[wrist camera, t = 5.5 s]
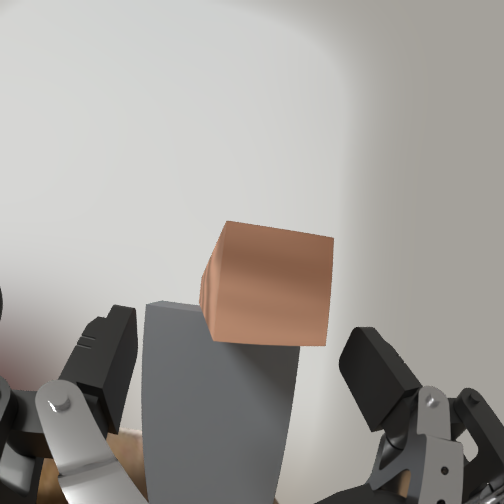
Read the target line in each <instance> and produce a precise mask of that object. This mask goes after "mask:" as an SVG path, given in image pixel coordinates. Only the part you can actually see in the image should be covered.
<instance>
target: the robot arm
mask: <svg viewBox="0 0 504 504" xmlns="http://www.w3.org/2000/svg"><path fill="white" fill-rule="evenodd" d="M2 308H3V300H2V293H1V288H0V320H1V315H2ZM137 352H138V337H137V319H136V310H135V308H131V307H125V306H119V305H113V307H112V308H111V310H110V312H109V314H108V316H107V318H104V317H97V318H96V319H94V320H93V321H91V322H90V323H89V324H88V325H87V326H86V328H85V330H84V331H83V333H82V337H80V339H79V340H78V342H77V346H75V348H74V350H73V351H72V353H71V355H70V357H69V359H68V361H67V363H66V365H65V367H64V369H63V371H62V373H61V375H60V377H59V379H58V380H52V381H49V382H47V383H45V384H44V385H42V386H41V387H40V389H39V390H38V391H22V390H12V389H11V388H10V386H9V385H8V383H7V381H6V380H5V379H4V378H3V377H1V376H0V504H36V499H37V492H38V486H39V480H40V475H41V470H42V465H43V461H44V458H51V459H54V460H55V463H56V465H57V467H58V470H59V475H58V481H59V484H60V486H61V489H62V491H63V493H64V495H65V497H66V499H67V501H68V502H69V504H149V503H148V502H147V501H146V499H145V498H144V497H143V495H142V494H141V493H140V491H139V490H138V489H137V487H136V486H135V485H134V483H133V482H132V480H131V479H130V478H129V476H128V475H127V473H126V472H125V470H124V469H123V467H122V466H121V464H120V463H119V461H118V460H117V458H116V457H115V456H114V454H113V453H112V451H111V449H110V447H109V446H108V444H107V442H106V438H107V433H112V434H117V435H118V432H119V427H120V422H121V418H122V413H123V409H124V405H125V401H126V396H127V392H128V389H129V385H130V381H131V377H132V373H133V369H134V366H135V363H136V358H137ZM398 355H399V354H398V353H397V352H396V351H395V349H394V348H393V347H392V346H391V345H390V344H389V343H387V342H386V341H385V340H384V339H383V338H382V337H381V335H380V334H379V333H378V332H377V330H375V328H373V327H356V328H354V329H353V330H352V332H351V335H350V337H349V339H348V341H347V343H346V345H345V347H344V349H343V352H342V354H341V356H340V359H339V369H340V372H341V374H342V376H343V378H344V379H345V381H346V383H347V385H348V387H349V389H350V391H351V393H352V395H353V397H354V399H355V401H356V403H357V405H358V407H359V409H360V411H361V412H362V414H363V416H364V418H365V420H366V422H367V424H368V426H369V428H370V430H371V432H375V431H379V430H382V429H384V431H385V433H384V434H383V435H382V437H381V439H380V444H379V448H378V452H377V455H376V459H375V463H374V466H373V470H372V473H371V476H370V477H369V479H368V480H367V482H366V483H365V484H364V485H361V486H358V487H355V488H351V489H348V490H344V491H340V492H337V493H335V494H333V495H331V496H329V497H327V498H325V499H323V500H321V501H319V502H317V503H315V504H504V426H503V425H502V423H501V422H500V420H499V419H498V418H497V416H496V415H495V413H494V412H493V410H492V409H491V408H490V406H489V405H488V404H487V403H486V401H485V400H484V398H483V397H482V396H481V395H480V394H479V393H478V392H477V391H476V390H474V389H471V388H465V389H463V390H462V391H461V393H460V394H459V395H458V397H457V398H447V397H446V395H445V394H444V393H443V392H442V391H441V390H439V389H438V388H435V387H433V386H424V387H423V386H422V385H421V384H420V382H419V381H418V379H417V378H416V377H415V375H414V374H413V373H412V372H411V370H410V369H409V367H408V366H407V365H406V364H405V363H404V361H403V360H402V358H401V357H400V356H398ZM466 429H467V430H468V431H469V433H470V434H471V436H472V438H473V439H474V441H475V442H476V444H477V446H478V454H477V456H476V457H475V458H474V459H473V460H472V461H471V462H469V461H468V460H467V459H466V457H465V455H464V454H463V445H462V443H461V442H457V441H456V439H457V437H459V436H460V435H461V434H462V433H463V431H465V430H466ZM487 483H489V484H487Z"/></svg>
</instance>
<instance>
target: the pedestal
mask: <svg viewBox="0 0 504 504" xmlns="http://www.w3.org/2000/svg"><path fill="white" fill-rule="evenodd" d="M299 352H300V346H282V345H259V344H243V343H230V342H218V341H213V339H212V336H211V334H210V331H209V328H208V326H207V323H206V320H205V318H204V315H203V312H202V309H201V307H200V306H198V305H190V304H182V303H175V302H168V301H158V302H154V303H150V304H146V311H145V322H144V336H143V354H142V391H141V398H142V399H141V403H142V437H143V454H144V466H145V476H146V485H147V493H148V500H149V504H273V501H274V497H275V493H276V488H277V484H278V479H279V475H280V470H281V465H282V460H283V455H284V450H285V445H286V439H287V433H288V428H289V422H290V416H291V410H292V403H293V397H294V390H295V383H296V376H297V368H298V361H299Z"/></svg>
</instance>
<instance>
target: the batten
mask: <svg viewBox="0 0 504 504" xmlns="http://www.w3.org/2000/svg"><path fill="white" fill-rule="evenodd" d="M333 245H334V238H332V237H326V236H320V235H315V234H309V233H303V232H297V231H290V230H284V229H278V228H272V227H266V226H259V225H252V224H245V223H239V222H233V221H226V223H225V225H224V228H223V230H222V232H221V234H220V237H219V239H218V241H217V244H216V246H215V248H214V250H213V253H212V255H211V257H210V259H209V262H208V264H207V266H206V269H205V271H204V273H203V276H202V280H201V289H200V299H199V304H200V307H201V309H202V312H203V315H204V318H205V320H206V323H207V326H208V328H209V331H210V334H211V336H212V339H213V341H218V342H230V343H243V344H259V345H282V346H326V336H327V328H328V318H329V307H330V296H331V282H332V267H333Z"/></svg>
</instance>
